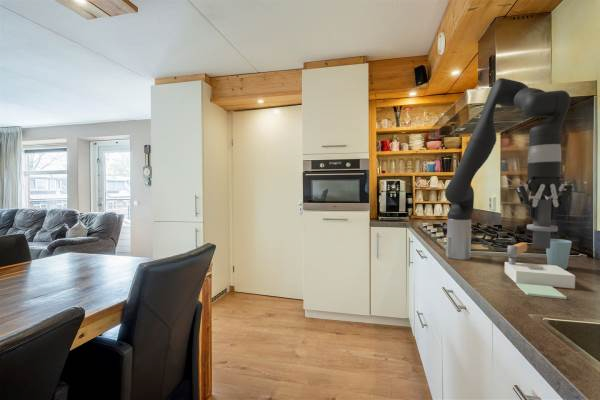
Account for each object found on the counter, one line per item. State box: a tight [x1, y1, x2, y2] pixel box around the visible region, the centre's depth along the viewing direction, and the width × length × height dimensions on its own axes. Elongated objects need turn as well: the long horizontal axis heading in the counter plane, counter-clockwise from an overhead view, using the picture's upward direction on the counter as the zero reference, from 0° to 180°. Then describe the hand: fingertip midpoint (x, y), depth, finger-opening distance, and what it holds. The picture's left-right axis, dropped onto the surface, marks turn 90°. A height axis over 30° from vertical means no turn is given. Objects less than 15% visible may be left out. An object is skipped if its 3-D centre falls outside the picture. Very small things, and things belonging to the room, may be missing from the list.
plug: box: [526, 199, 559, 250], centre depth 85 cm, size 7×7×14 cm
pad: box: [515, 283, 568, 300], centre depth 86 cm, size 9×9×1 cm
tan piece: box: [506, 241, 528, 258], centre depth 105 cm, size 14×3×4 cm, turn 127°
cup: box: [545, 238, 573, 270], centre depth 110 cm, size 8×8×10 cm
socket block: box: [504, 257, 576, 290], centre depth 96 cm, size 15×12×6 cm
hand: (542, 219), depth 85 cm, fingers closed on plug, 4 cm apart
